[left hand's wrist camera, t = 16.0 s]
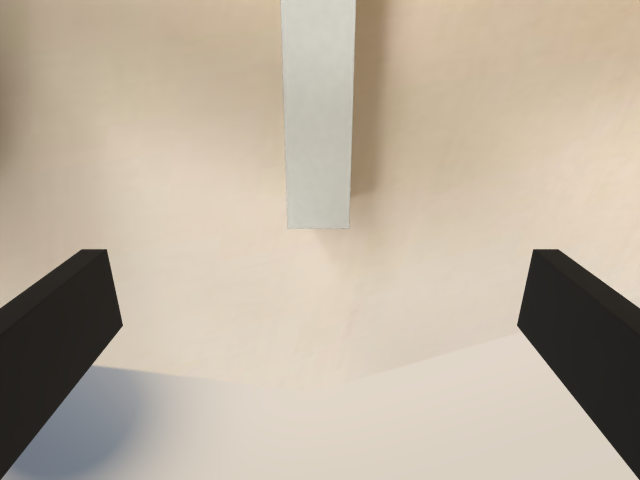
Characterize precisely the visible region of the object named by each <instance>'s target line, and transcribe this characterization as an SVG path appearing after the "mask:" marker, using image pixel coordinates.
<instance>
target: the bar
mask: <svg viewBox="0 0 640 480" xmlns="http://www.w3.org/2000/svg"><path fill="white" fill-rule="evenodd" d="M355 23H356V0H281V31H282V64H283V96H284V129H285V162H286V194H287V227H288V229H349V225H350V191H351V157H352V124H353V90H354V56H355Z"/></svg>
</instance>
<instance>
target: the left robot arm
mask: <svg viewBox="0 0 640 480" xmlns="http://www.w3.org/2000/svg"><path fill="white" fill-rule="evenodd" d="M122 326H123V324H122V319H121V314H120V310H119V305H118V300H117V295H116V291H115V286H114V281H113V277H112V272H111V267H110V263H109V258H108V253H107V249H82V250H80V251H79V252H78V253H76V254H75V255H73V256H72V257H71V258H69V259H68V260H67V261H65V262H64V263H62V264H61V265H60V266H58V267H57V268H55V269H54V270H53V271H51V272H50V273H49V274H47V275H46V276H44V277H43V278H42V279H40V280H39V281H37V282H36V283H35V284H33V285H32V286H31V287H29V288H28V289H26V290H25V291H24V292H22V293H21V294H20V295H18V296H17V297H15V298H14V299H13V300H11V301H10V302H8V303H7V304H6V305H4V306H3V307H2V308H0V480H1V479H2V477H3V476H4V475H5V474H6V472H7V471H8V470H9V469H10V467H11V466H12V465H13V464H14V462H15V461H16V460H17V458H18V457H19V456H20V455H21V453H22V452H23V451H24V450H25V448H26V447H27V446H28V445H29V443H30V442H31V441H32V440H33V438H34V437H35V436H36V435H37V433H38V432H39V431H40V429H41V428H42V427H43V426H44V424H45V423H46V422H47V421H48V419H49V418H50V417H51V416H52V414H53V413H54V412H55V411H56V409H57V408H58V407H59V405H60V404H61V403H62V402H63V400H64V399H65V398H66V397H67V395H68V394H69V393H70V392H71V390H72V389H73V388H74V387H75V385H76V384H77V383H78V382H79V380H80V379H81V378H82V377H83V375H84V374H85V373H86V371H87V370H88V369H89V368H90V366H91V365H92V364H93V363H94V361H95V360H96V359H97V358H98V356H99V355H100V354H101V353H102V351H103V350H104V349H105V348H106V346H107V345H108V344H109V342H110V341H111V340H112V339H113V337H114V336H115V335H116V334H117V332H118V331H119V330H120V329H121V327H122ZM517 326H518V327H519V329H520V330H521V331H522V332H523V334H524V335H525V336H526V337H527V339H528V340H529V341H530V342H531V344H532V345H533V346H534V347H535V349H536V350H537V351H538V353H539V354H540V355H541V356H542V358H543V359H544V360H545V361H546V363H547V364H548V365H549V366H550V368H551V369H552V370H553V371H554V373H555V374H556V375H557V377H558V378H559V379H560V380H561V382H562V383H563V384H564V385H565V387H566V388H567V389H568V390H569V392H570V393H571V394H572V395H573V397H574V398H575V399H576V400H577V402H578V403H579V404H580V406H581V407H582V408H583V409H584V411H585V412H586V413H587V414H588V416H589V417H590V418H591V419H592V421H593V422H594V423H595V424H596V426H597V427H598V428H599V429H600V431H601V432H602V433H603V435H604V436H605V437H606V438H607V440H608V441H609V442H610V443H611V445H612V446H613V447H614V448H615V450H616V451H617V452H618V453H619V455H620V456H621V457H622V458H623V460H624V461H625V462H626V464H627V465H628V466H629V467H630V469H631V470H632V471H633V472H634V474H635V475H636V476H637V477H638V479H639V480H640V308H638V307H637V306H636V305H634V304H633V303H632V302H630V301H629V300H627V299H626V298H625V297H623V296H622V295H620V294H619V293H618V292H616V291H615V290H614V289H612V288H611V287H609V286H608V285H607V284H605V283H604V282H602V281H601V280H600V279H598V278H597V277H596V276H594V275H593V274H591V273H590V272H589V271H587V270H586V269H585V268H583V267H582V266H580V265H579V264H578V263H576V262H575V261H573V260H572V259H571V258H569V257H568V256H567V255H565V254H564V253H562V252H561V251H560V250H558V249H533V253H532V258H531V263H530V267H529V272H528V277H527V281H526V286H525V291H524V295H523V300H522V305H521V310H520V314H519V319H518V324H517Z"/></svg>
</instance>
